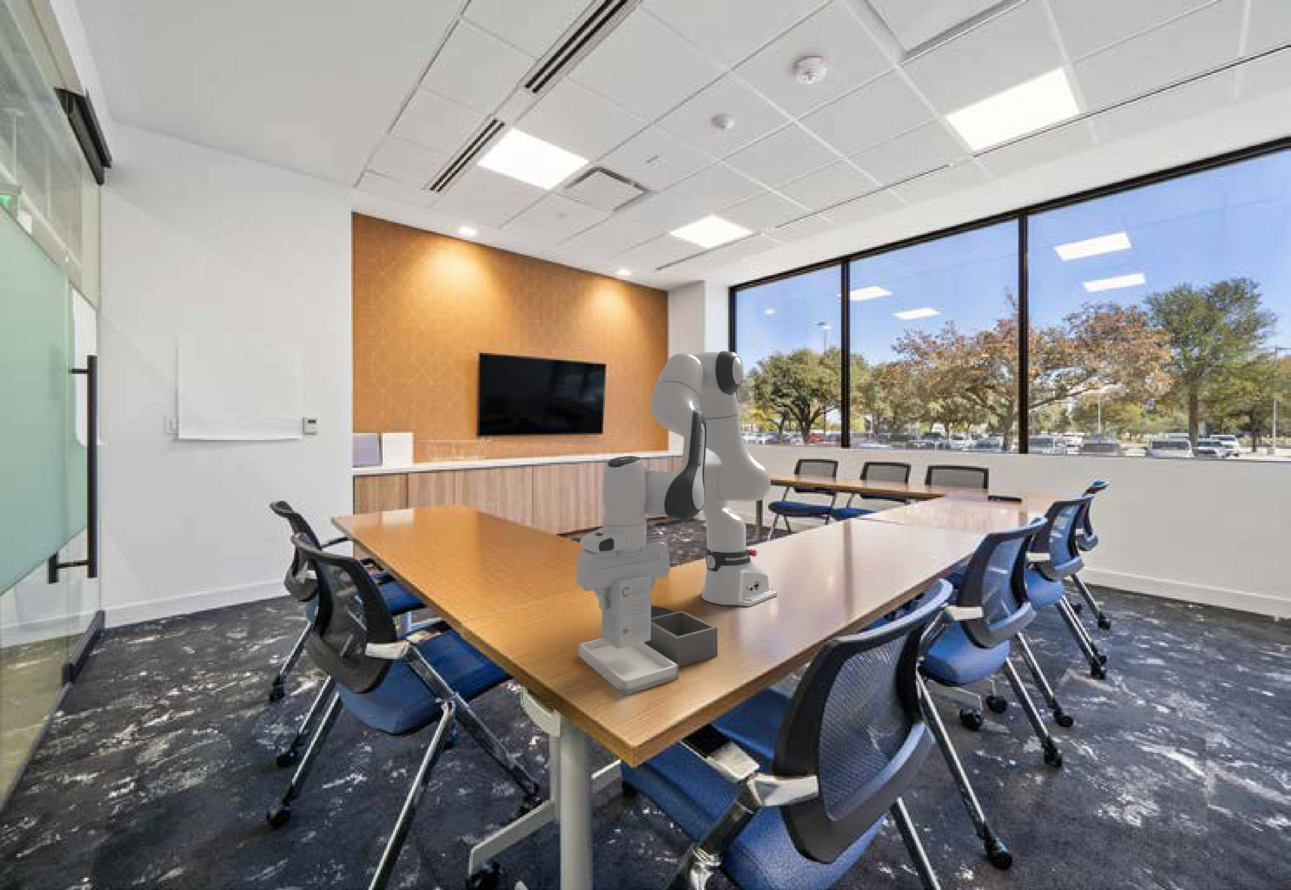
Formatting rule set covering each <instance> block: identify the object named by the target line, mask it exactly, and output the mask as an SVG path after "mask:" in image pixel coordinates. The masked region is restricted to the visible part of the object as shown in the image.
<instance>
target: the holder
mask: <svg viewBox="0 0 1291 890" xmlns="http://www.w3.org/2000/svg"><path fill="white" fill-rule="evenodd" d="M674 612H675V613H670V614H666V615H662V616H658V617H653V618H651V640H649V641H646V642H643V643H645V644H646V645H648V646H649V647H651V648H652V649H654V650H656V651H657V652H659V653H660V654H662V655H663V656H665V657H666V658H668V659H669V660H671V661H673V662H674V663H676V664H677V665H679V668H682V667H686V666H688V665H692V664H694V663H698V662H701V661H706V660H708V659H712V658H714V657H717V656H719V655H718V653H719V652H718V651H719V650H718V648H719V647H718V646H719V645H718V627H717V626H715V625H713V624H711V623H708V622H706V621H704V620H703V619H701V618H699V617H696V616H695V615H692V614H690V613H688V612H686V611H684V610H680V611H674Z"/></svg>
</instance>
